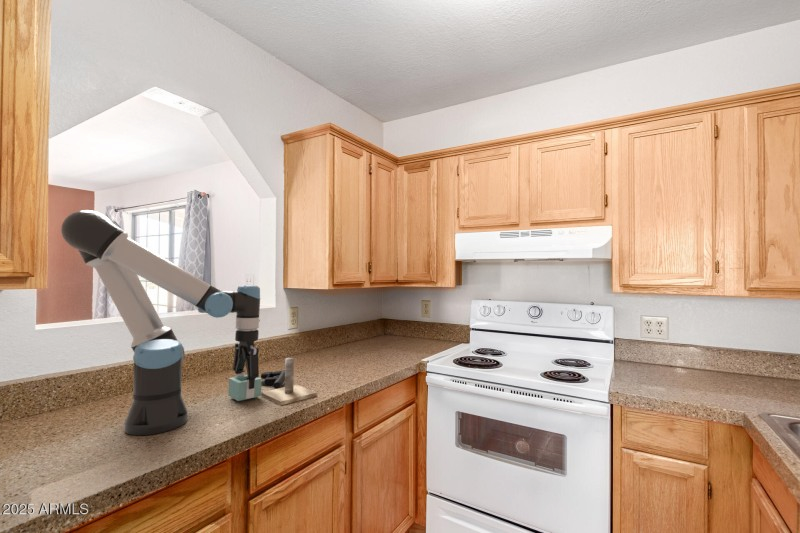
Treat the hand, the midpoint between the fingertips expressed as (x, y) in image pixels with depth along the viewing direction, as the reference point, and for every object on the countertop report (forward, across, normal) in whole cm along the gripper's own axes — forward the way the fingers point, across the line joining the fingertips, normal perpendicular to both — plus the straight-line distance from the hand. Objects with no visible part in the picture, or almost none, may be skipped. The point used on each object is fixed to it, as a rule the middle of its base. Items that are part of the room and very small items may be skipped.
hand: (244, 394), depth 131 cm
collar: (0, 0, 0) cm, 0 cm away
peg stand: (+1, -8, -13) cm, 15 cm away
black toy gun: (+2, +13, -15) cm, 20 cm away
